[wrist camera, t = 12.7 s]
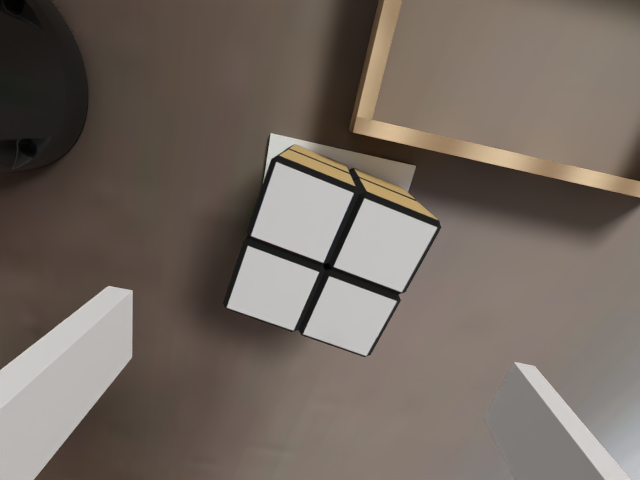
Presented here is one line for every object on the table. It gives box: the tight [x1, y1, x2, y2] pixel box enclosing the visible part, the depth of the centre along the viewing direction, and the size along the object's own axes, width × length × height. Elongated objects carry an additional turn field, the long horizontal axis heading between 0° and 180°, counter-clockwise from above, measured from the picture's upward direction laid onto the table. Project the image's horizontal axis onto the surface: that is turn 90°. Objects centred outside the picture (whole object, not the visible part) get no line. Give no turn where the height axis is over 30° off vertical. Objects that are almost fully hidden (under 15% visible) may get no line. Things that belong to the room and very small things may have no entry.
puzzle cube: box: [223, 144, 441, 357], centre depth 23 cm, size 10×10×10 cm
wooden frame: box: [349, 0, 640, 198], centre depth 21 cm, size 26×17×5 cm, turn 78°
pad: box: [263, 133, 416, 192], centre depth 28 cm, size 12×12×1 cm
